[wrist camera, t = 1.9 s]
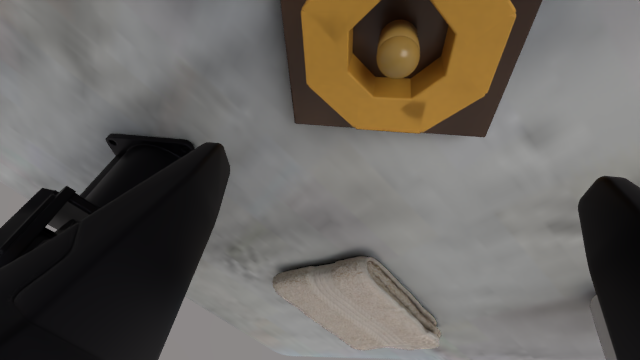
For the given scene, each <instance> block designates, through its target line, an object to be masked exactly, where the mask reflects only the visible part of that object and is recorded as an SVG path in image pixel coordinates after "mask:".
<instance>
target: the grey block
mask: <svg viewBox="0 0 640 360" xmlns="http://www.w3.org/2000/svg"><path fill="white" fill-rule="evenodd" d="M590 310H591V313H592V316H593V319H594V323H595V326H596V329H597V332H598V336H599V339H600V342H601V346H602V349H603V352H604V355H605V358H606V360H617V358H616V355H615V352H614V349H613V346H612V342H611V339H610V336H609V333H608V329H607V326H606V323H605V320H604V317H603V313H602V310H601V307H600V304H599V301H598V297H597V295H595V296H594V297H593V298H592V300H591V302H590Z"/></svg>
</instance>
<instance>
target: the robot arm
mask: <svg viewBox="0 0 640 360" xmlns="http://www.w3.org/2000/svg"><path fill="white" fill-rule="evenodd" d="M106 142H107V143H108V145H109V146H110V148H111V149H112V151H113V152H114V154H115V155H116V157H115V158H114V159H113V160H112V161H111V162H110V163H109V164H108V165H107V166H106V167H105V169H104V170H103V171H102V172H101V173H100V174H99V175H98V176H97V177H96V178H95V180H94V181H93V182H92V183H91V184H90V185H89V186H88V187H87V188H86V189H85V191H84V192H83V193H82V194H81V195H80V196H79V195H78V194H76V193H75V192H76V191H74V190H73V189H71V188H70V187H68V186H66V187H65V188H63V189H62V190H61V191H60V192H57V191H56V190H55V191H53V190H49V189H45V188H42V189H41V190H40V191H38V192H37V193H36V194H35V195H34V196H33V197H32V198H31V199H30V200H29V201H28V202H27V203H26V204H25V205H24V206H23V207H22V208H21V209H20V210H19V211H18V212H17V213H16V214H15V215H14V216H13V217H11V219H9V220H8V221H7V222H6V223H5V224H4V225H3V226H2V227H1V228H0V360H158V359H159V356H160V354H161V351H162V349H163V347H164V344H165V342H166V340H167V337H168V335H169V332H170V330H171V328H172V325H173V323H174V320H175V318H176V316H177V313H178V311H179V309H180V306H181V304H182V301H183V299H184V297H185V294H186V292H187V290H188V287H189V285H190V282H191V280H192V278H193V275H194V273H195V270H196V268H197V266H198V263H199V261H200V259H201V256H202V254H203V251H204V249H205V247H206V244H207V242H208V240H209V237H210V235H211V232H212V230H213V227H214V225H215V222H216V219H217V216H218V213H219V210H220V206H221V203H222V199H223V196H224V192H225V189H226V185H227V182H228V178H229V175H230V165H229V162H228V159H227V156H226V153H225V150H224V147H223V146H222V144H220V143H212V142H206V143H204V144H202V145H201V146H199V147H197V148H196V149H195V148H194V146H193V144H192V143H191V142H189V141H187V140H182V139H170V138H159V137H147V136H135V135H123V134H110V135H109V136H108V137H107V138H106ZM578 212H579V218H580V223H581V229H582V235H583V240H584V246H585V252H586V257H587V262H588V267H589V271H590V274H591V278H592V281H593V284H594V288H595V291H596V294H597V297H598V301H599V304H600V307H601V310H602V313H603V317H604V320H605V323H606V326H607V329H608V333H609V336H610V339H611V342H612V346H613V349H614V352H615V355H616V358H617V360H640V188H639V187H638V186H636V185H635V184H633V183H632V182H630V181H629V180H627V179H625V178H621V177H610V176H603V177H600V178H598V179H597V180H596V181H595V182H594V183H593V185H592V186H591V187H590V188H589V189H588V190H587V192H586V193H585V194H584V195H583V196H582V198H581V199H580V201H579V204H578ZM47 224H48V225H50V226H52V227H53V228H56V229H57V231H56V232H53V231H51V230H49V229H47V228H45V227H46V225H47Z"/></svg>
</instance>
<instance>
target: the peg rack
mask: <svg viewBox="0 0 640 360" xmlns="http://www.w3.org/2000/svg"><path fill="white" fill-rule="evenodd" d="M510 1H511V2H512V4H513V6H514V7H515V9H516V19H515V21H514V24H513V27H512V29H511V32H510V35H509V37H508V40H507V43H506V45H505V48H504V51H503V53H502V56H501V58H500V61H499V64H498V66H497V69H496V72H495V74H494V77H493V80H492V82H491V85H490V88H489V90H488V93H486V94H485V96H484V97H482V98H480V99H479V100H477V101H475V102H474V103H472V104H470V105H468V106H467V107H465V108H463V109H462V110H460V111H458V112H457V113H455V114H453V115H452V116H450V117H448V118H447V119H445V120H443V121H441V122H440V123H438V124H436V125H435V126H433V127H431V128H430V129H428V130H426V131H425V132H420V133H434V134H447V135H461V136H475V137H485V136H486V134H487V131H488V129H489V126H490V124H491V122H492V119H493V117H494V114H495V112H496V110H497V107H498V105H499V103H500V100H501V98H502V95H503V93H504V91H505V88H506V86H507V83H508V81H509V79H510V76H511V74H512V71H513V69H514V67H515V64H516V62H517V60H518V57H519V55H520V52H521V50H522V48H523V45H524V43H525V40H526V38H527V36H528V33H529V31H530V29H531V26H532V24H533V21H534V19H535V17H536V14H537V12H538V9H539V7H540V5H541V2H542V0H510ZM305 2H306V0H280V3H281V11H282V19H283V28H284V36H285V44H286V52H287V60H288V69H289V77H290V85H291V93H292V102H293V110H294V118H295V123H296V124H309V125H323V126H337V127H351V128H355V127H352V126H351V125H350V124H349V123H348V122H347V121H346V120H345V119H344V118H343V117H341V116H340V115H339V114H338V113H337V112H336V111H335V110H334V109H333V108H332V107H330V106H329V105H328V104H327V103H326V102H325V101H324V100H323V99H322V98H321V97H320V96H318V95H317V94H316V93H315V92H314V91H313V90H312V89H311V88H310V87H309V86H308V84H307V83H306V71H305V58H304V46H303V34H302V21H301V10H302V7H303V5H304V4H305ZM448 26H449V25H448V24H447V22H446V21H445V20H444V18H443V17H442V16H441V14H440V13H439V12H438V10H437V9H436V8H435V6H434V5H433V4H432V2H431V1H430V0H381V1H380V2H379V3H378V4H377V5H376V6H375V7H374V8H373V9H371V10H370V11H369V12H368V13H367V14H366V15H365V16H364V17H363V18H362V19H361V20H360V21H359V22H358V23H357V24H356V25H355V26H354V27H353V54H354V55H355V56H356V57H357V58H358V59H359V60H360V61H361V62H362V63H363V65H364V66H365V67H366V68H367V69H368V70H369V71H370V72H371V73H372V74H373V75H374V76H375V77H389V78H392V79H401V78H410V79H411V78H412V77H414V76H415V75H416V74H418V73H419V72H420V71H422V70H423V69H424V68H426V67H427V66H429V65H430V64H431V63H433V62H434V61H435V60H437V59H438V58H439V57H441V55H442V51H443V47H444V43H445V38H446V34H447V30H448Z"/></svg>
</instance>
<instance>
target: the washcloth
mask: <svg viewBox="0 0 640 360" xmlns="http://www.w3.org/2000/svg"><path fill="white" fill-rule="evenodd" d="M273 287H274V289H275V290H276V292H277V293H278V295H280V296H281V297H283V298H284V299H285V300H287V302H289V303H291V304H292V305H294V306H295V307H297V308H298V309H299V310H301V311H302V312H304V314H305V315H307V316H308V317H309V318H311V319H312V320H313V321H315V322H316V323H319V324H320V325H321V326H322V327H324V328H326V330H327V331H329V332H331V333H333V334H334V335H336V336H337V337H339V338H340V339H341V340H343V341H344V342H345V343H346V344H347V345H350V346H351V347H352V348H354V349H357V350H371V349H376V348H385V347H390V348H397V349H404V350H415V349H427V348H433V349H434V348H437V347H439V338H440V337H441V333H440V331H439V330H438V328H437V327H436V325H437V322H436V320H435V318H434V317H433V316H432V315H431V314H430V313H429V312H428V311H426V310H425V309H423V307H422V306H421V305H420V303H419V302H418V301H417V300H416V298H414V297H413V295H412V294H411V293H410V292H409V291H408V290H407V289H405V288H404V287H403V286H402V285H401V284H400V283H399V282H398V281H397V279H396V278H395V277H394V276H393V275H391V273H390V272H389V271H388V270H387V269H386V268H385V267H384V266H383V265H382V264H381V263H380V262H378V261H377V260H376V259H374V258H372V257H364V256H362V257H360V256H359V257H355V258H349V259H345V260H340V261H336V263H333V264H327V265H321V266H318V267H314V266H308V267H304V268H300V269H296V270H290V271H288V272H283V273H279V274H277V275H276V276H275V277H274V278H273Z"/></svg>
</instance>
